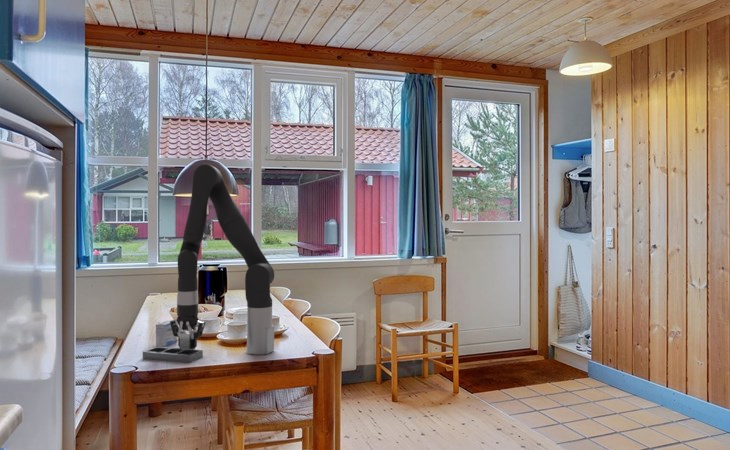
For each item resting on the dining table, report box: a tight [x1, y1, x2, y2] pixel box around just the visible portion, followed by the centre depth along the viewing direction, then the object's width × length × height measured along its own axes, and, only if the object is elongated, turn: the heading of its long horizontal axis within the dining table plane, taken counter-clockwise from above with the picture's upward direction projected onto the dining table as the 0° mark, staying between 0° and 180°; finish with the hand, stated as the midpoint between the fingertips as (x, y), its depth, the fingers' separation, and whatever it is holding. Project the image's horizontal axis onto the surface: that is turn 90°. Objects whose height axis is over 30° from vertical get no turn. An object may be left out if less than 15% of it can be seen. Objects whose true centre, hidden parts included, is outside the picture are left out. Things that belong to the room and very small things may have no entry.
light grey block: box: [180, 330, 196, 350], centre depth 192 cm, size 4×4×7 cm
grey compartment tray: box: [142, 346, 204, 364], centre depth 184 cm, size 19×8×2 cm, turn 76°
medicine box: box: [155, 320, 178, 347], centre depth 203 cm, size 8×4×9 cm, turn 168°
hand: (187, 347), depth 192 cm, fingers open, 4 cm apart
